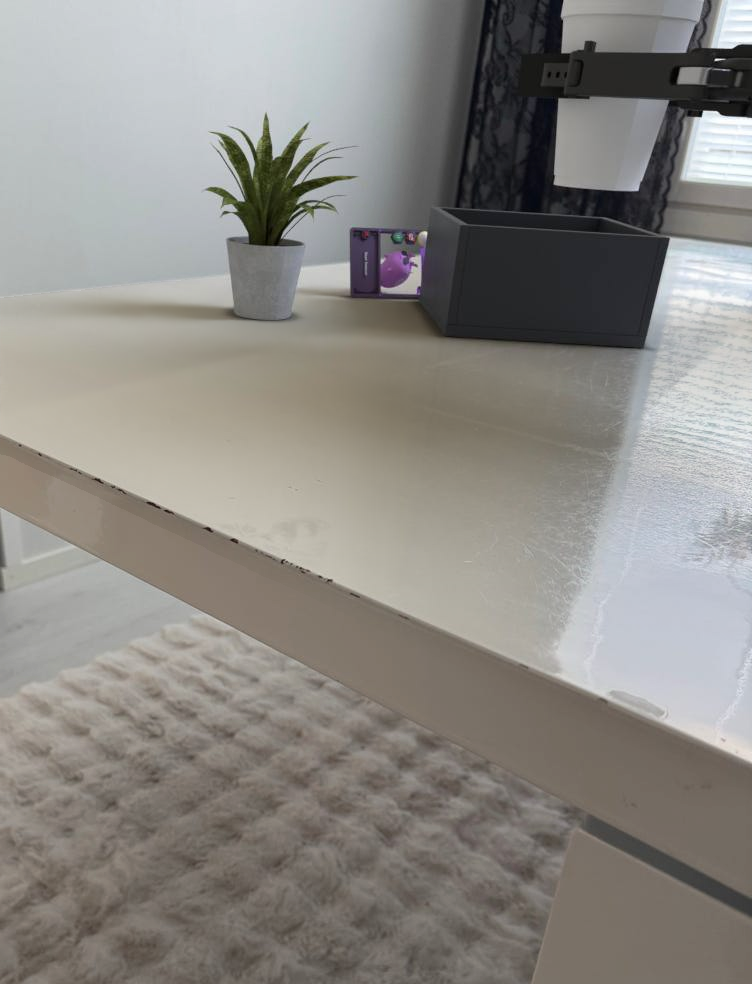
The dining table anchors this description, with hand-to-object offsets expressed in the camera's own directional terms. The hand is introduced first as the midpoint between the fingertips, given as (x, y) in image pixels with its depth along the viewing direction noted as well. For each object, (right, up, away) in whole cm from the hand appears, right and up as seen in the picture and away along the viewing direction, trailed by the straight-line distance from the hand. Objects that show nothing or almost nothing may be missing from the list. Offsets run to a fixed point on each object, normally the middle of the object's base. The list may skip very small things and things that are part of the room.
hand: (570, 80), depth 72 cm
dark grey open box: (+1, -12, +19) cm, 22 cm away
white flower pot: (+2, -8, 0) cm, 8 cm away
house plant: (-24, -13, +14) cm, 31 cm away
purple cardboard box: (-11, -6, +29) cm, 32 cm away
